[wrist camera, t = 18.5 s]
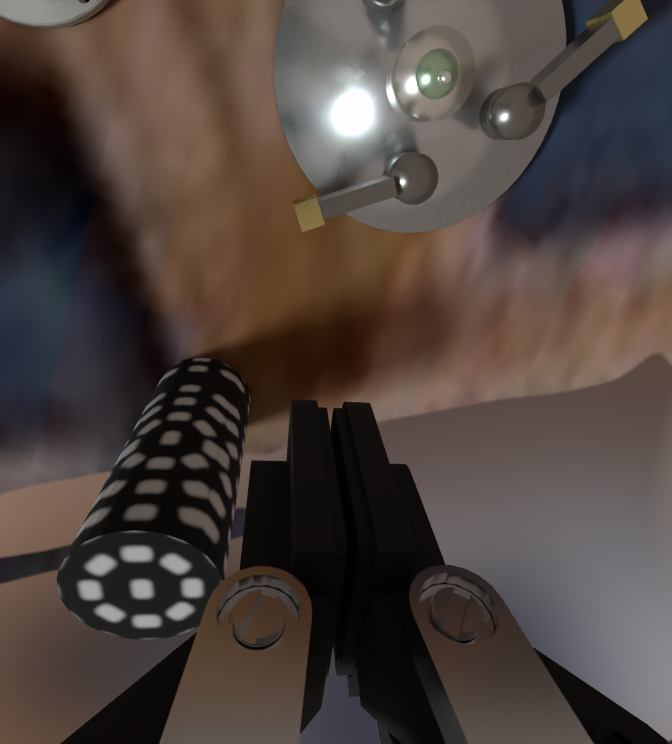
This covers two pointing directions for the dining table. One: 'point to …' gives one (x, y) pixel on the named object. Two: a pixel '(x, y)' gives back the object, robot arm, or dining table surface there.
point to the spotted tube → (163, 510)
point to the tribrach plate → (368, 126)
